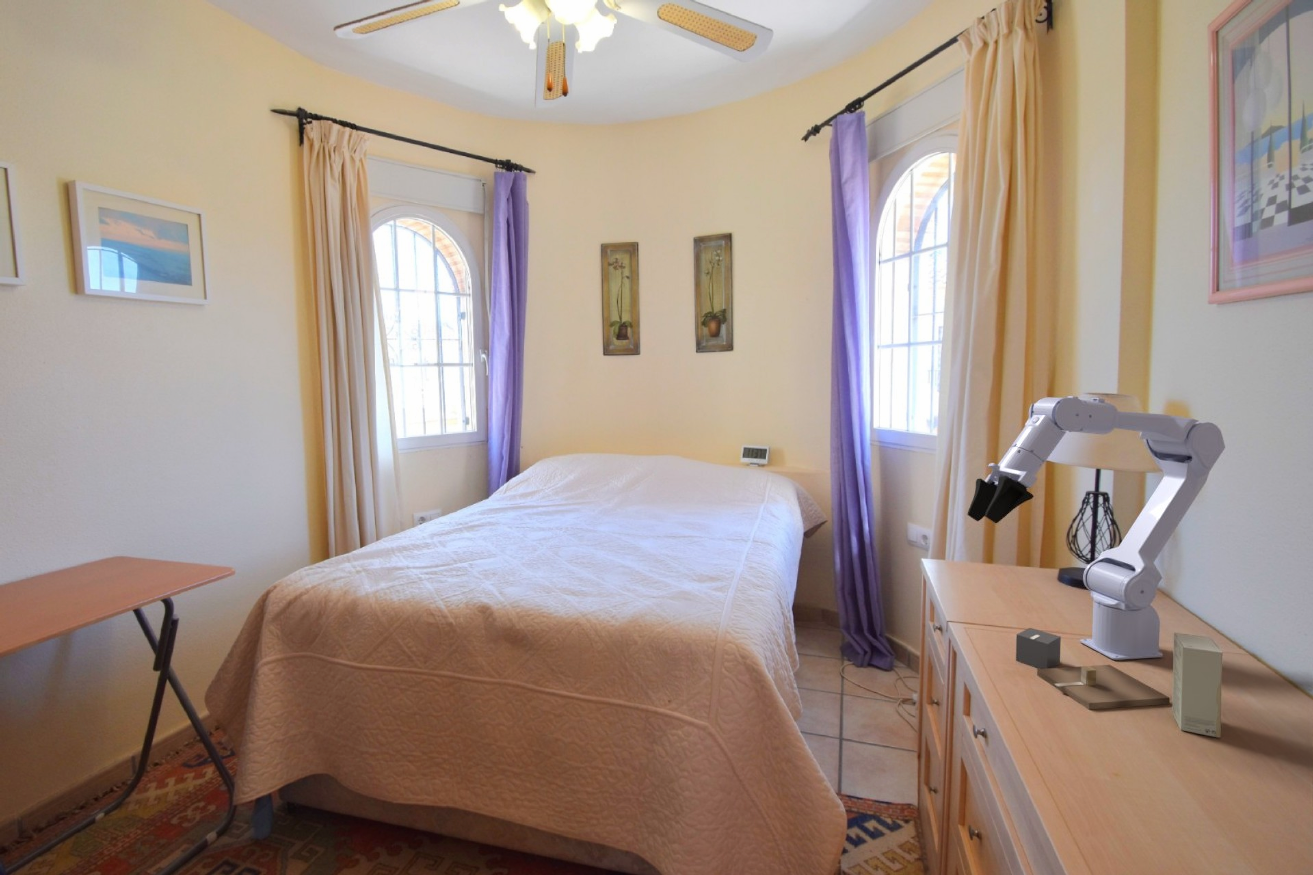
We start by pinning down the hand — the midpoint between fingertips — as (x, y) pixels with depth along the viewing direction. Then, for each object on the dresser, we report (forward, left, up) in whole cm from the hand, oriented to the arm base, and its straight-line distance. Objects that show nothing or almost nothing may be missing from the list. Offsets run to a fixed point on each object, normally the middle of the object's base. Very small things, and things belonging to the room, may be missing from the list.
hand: (981, 518), depth 104 cm
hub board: (-13, +12, -26) cm, 31 cm away
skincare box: (-18, +22, -26) cm, 39 cm away
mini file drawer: (-10, +2, -26) cm, 28 cm away
